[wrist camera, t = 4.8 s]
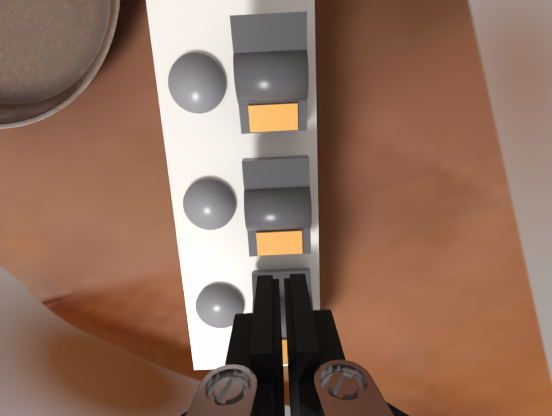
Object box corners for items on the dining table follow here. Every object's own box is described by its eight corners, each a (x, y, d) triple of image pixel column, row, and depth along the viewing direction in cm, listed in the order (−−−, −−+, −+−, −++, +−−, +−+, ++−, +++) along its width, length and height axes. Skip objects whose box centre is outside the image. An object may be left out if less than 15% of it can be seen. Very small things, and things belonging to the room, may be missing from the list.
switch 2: (253, 268, 22) (250, 275, 19) (307, 265, 22) (311, 272, 19) (257, 352, 22) (255, 371, 19) (312, 350, 22) (316, 368, 19)
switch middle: (244, 156, 19) (240, 163, 17) (306, 153, 19) (310, 160, 17) (251, 244, 21) (248, 262, 18) (307, 241, 21) (312, 259, 18)
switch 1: (233, 16, 17) (227, 15, 14) (303, 12, 17) (308, 10, 14) (243, 125, 19) (240, 138, 17) (304, 122, 19) (308, 134, 17)
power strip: (151, -133, 19) (117, -202, 15) (303, -141, 19) (311, -213, 15) (205, 334, 27) (193, 371, 23) (314, 329, 27) (321, 366, 23)
